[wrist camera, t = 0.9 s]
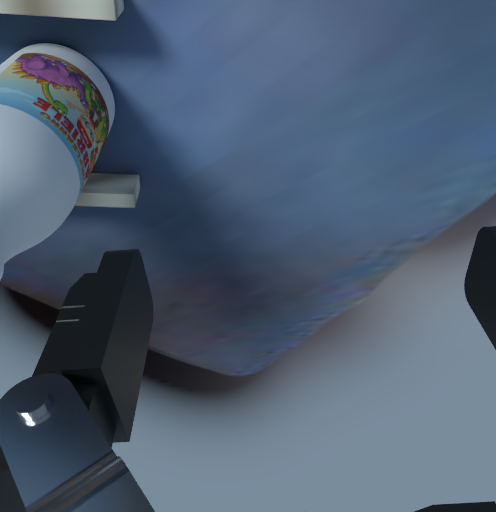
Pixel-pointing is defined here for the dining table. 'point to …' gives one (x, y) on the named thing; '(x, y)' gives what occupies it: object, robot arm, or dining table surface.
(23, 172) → the milk bottle
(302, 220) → the dining table surface
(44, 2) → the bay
